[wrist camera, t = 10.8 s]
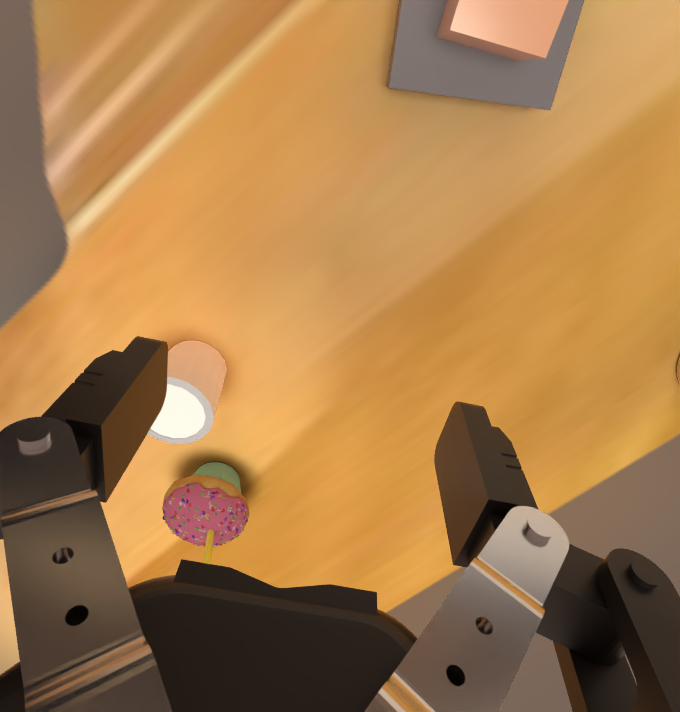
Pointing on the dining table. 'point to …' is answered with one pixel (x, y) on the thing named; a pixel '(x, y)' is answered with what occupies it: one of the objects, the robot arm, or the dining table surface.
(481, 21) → the terracotta cube
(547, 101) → the charcoal block
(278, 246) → the dining table surface
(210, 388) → the light grey piece
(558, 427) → the dining table surface
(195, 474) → the cupcake
